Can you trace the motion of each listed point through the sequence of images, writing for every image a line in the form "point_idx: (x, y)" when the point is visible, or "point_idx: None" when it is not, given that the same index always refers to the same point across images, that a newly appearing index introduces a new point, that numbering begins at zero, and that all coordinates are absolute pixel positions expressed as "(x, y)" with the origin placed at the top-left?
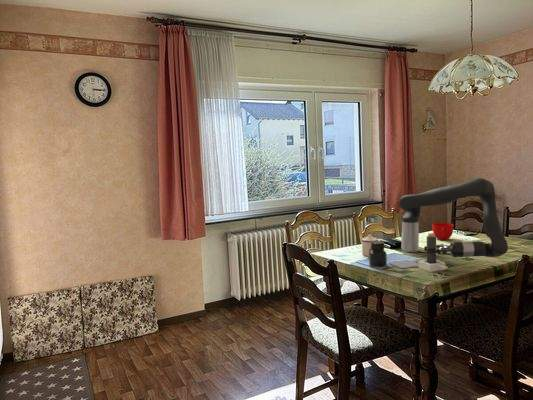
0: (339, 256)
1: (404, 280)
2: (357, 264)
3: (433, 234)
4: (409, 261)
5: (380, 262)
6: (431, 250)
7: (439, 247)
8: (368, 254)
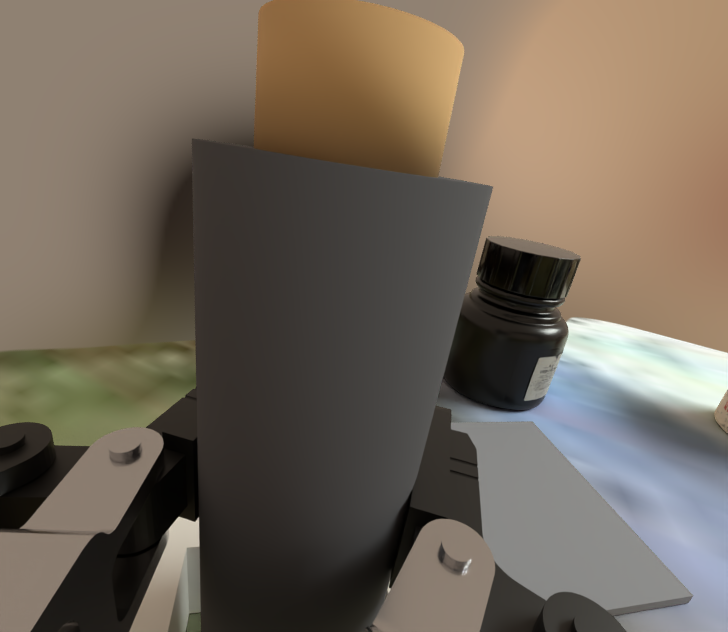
0: (639, 345)
1: (137, 345)
2: None
3: (260, 36)
4: (620, 583)
5: None
6: (189, 401)
7: (92, 533)
8: (719, 410)
